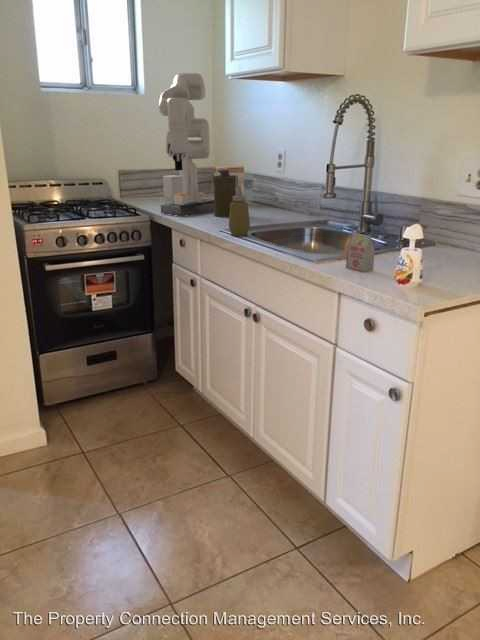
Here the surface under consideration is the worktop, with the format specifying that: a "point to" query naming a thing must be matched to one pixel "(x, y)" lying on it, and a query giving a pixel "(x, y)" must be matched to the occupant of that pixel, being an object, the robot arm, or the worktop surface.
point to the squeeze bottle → (239, 215)
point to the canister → (224, 193)
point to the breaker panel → (188, 208)
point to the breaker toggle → (181, 198)
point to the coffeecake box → (233, 171)
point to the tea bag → (360, 253)
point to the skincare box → (171, 187)
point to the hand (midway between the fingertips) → (178, 170)
